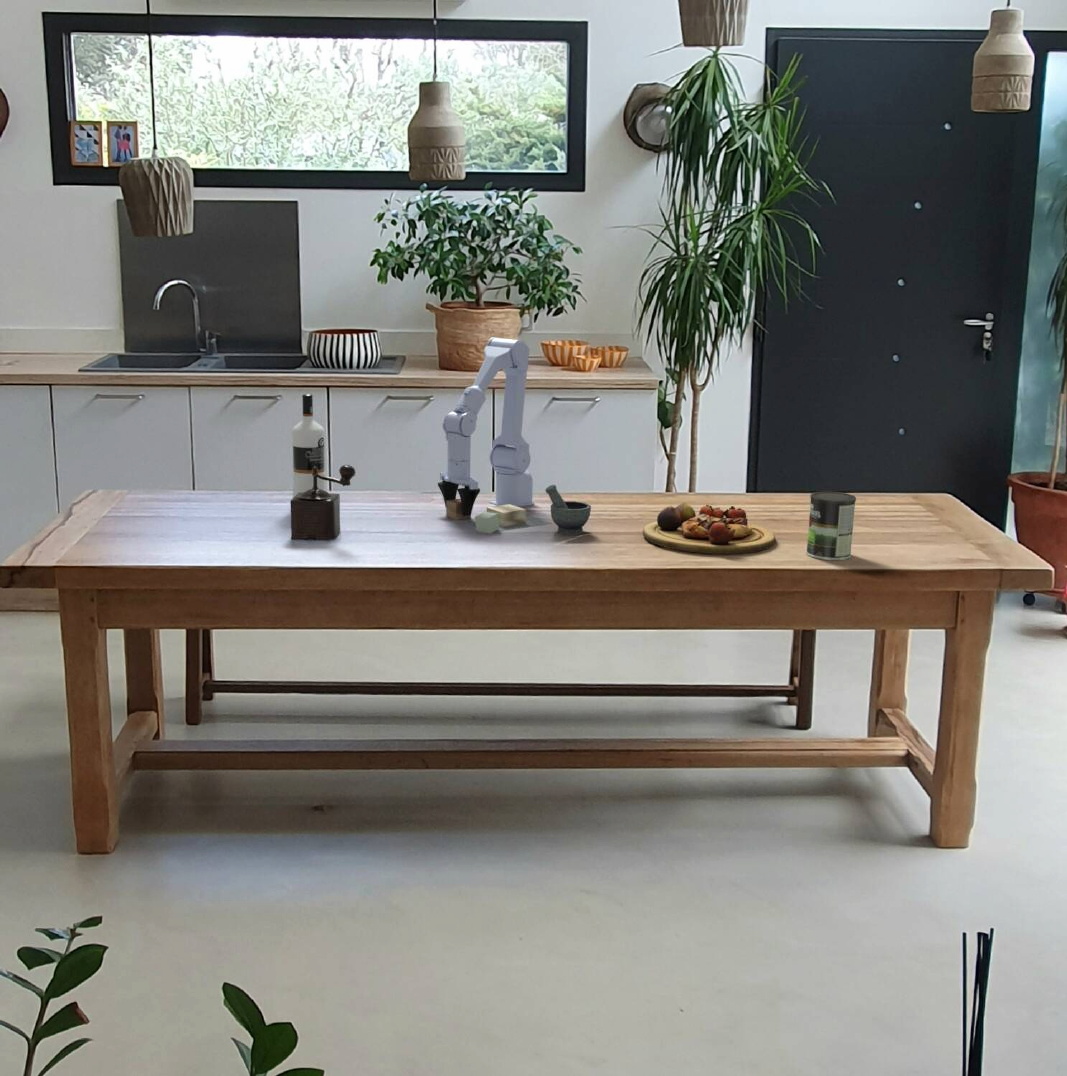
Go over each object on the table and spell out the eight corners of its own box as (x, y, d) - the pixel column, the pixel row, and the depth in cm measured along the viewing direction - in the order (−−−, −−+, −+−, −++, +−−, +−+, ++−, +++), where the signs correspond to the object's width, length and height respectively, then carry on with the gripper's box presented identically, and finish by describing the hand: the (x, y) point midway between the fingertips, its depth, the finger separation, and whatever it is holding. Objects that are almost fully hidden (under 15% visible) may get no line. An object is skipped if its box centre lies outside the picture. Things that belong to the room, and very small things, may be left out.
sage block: (485, 527, 331) (484, 511, 329) (499, 529, 328) (497, 513, 327) (476, 532, 327) (474, 516, 326) (489, 533, 325) (488, 518, 324)
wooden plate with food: (774, 561, 308) (776, 526, 306) (635, 550, 313) (637, 515, 312) (775, 531, 339) (778, 499, 337) (649, 522, 344) (651, 490, 342)
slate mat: (518, 513, 348) (518, 512, 348) (551, 524, 337) (551, 523, 337) (460, 522, 337) (460, 520, 337) (492, 533, 326) (492, 532, 326)
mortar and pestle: (587, 528, 334) (588, 480, 331) (593, 537, 325) (594, 488, 322) (542, 528, 333) (543, 481, 330) (546, 537, 324) (547, 489, 321)
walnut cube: (461, 515, 345) (461, 498, 344) (470, 519, 341) (471, 501, 340) (446, 517, 342) (446, 500, 341) (455, 521, 339) (456, 503, 338)
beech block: (509, 517, 342) (509, 504, 341) (525, 523, 336) (525, 509, 335) (486, 520, 338) (486, 507, 337) (502, 526, 332) (502, 512, 331)
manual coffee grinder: (289, 540, 316) (287, 465, 311) (298, 529, 327) (296, 456, 322) (355, 542, 315) (354, 466, 311) (362, 531, 326) (361, 458, 322)
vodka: (307, 504, 353) (305, 390, 345) (335, 509, 348) (333, 393, 341) (283, 511, 345) (281, 394, 338) (312, 516, 340) (309, 397, 333)
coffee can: (813, 560, 308) (817, 500, 304) (800, 549, 318) (805, 491, 314) (857, 560, 309) (862, 500, 305) (843, 549, 319) (848, 491, 315)
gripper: (430, 456, 341) (429, 508, 345) (461, 465, 330) (461, 519, 333) (453, 453, 345) (453, 505, 349) (485, 463, 334) (484, 516, 337)
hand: (458, 512), depth 341 cm, fingers open, 7 cm apart
